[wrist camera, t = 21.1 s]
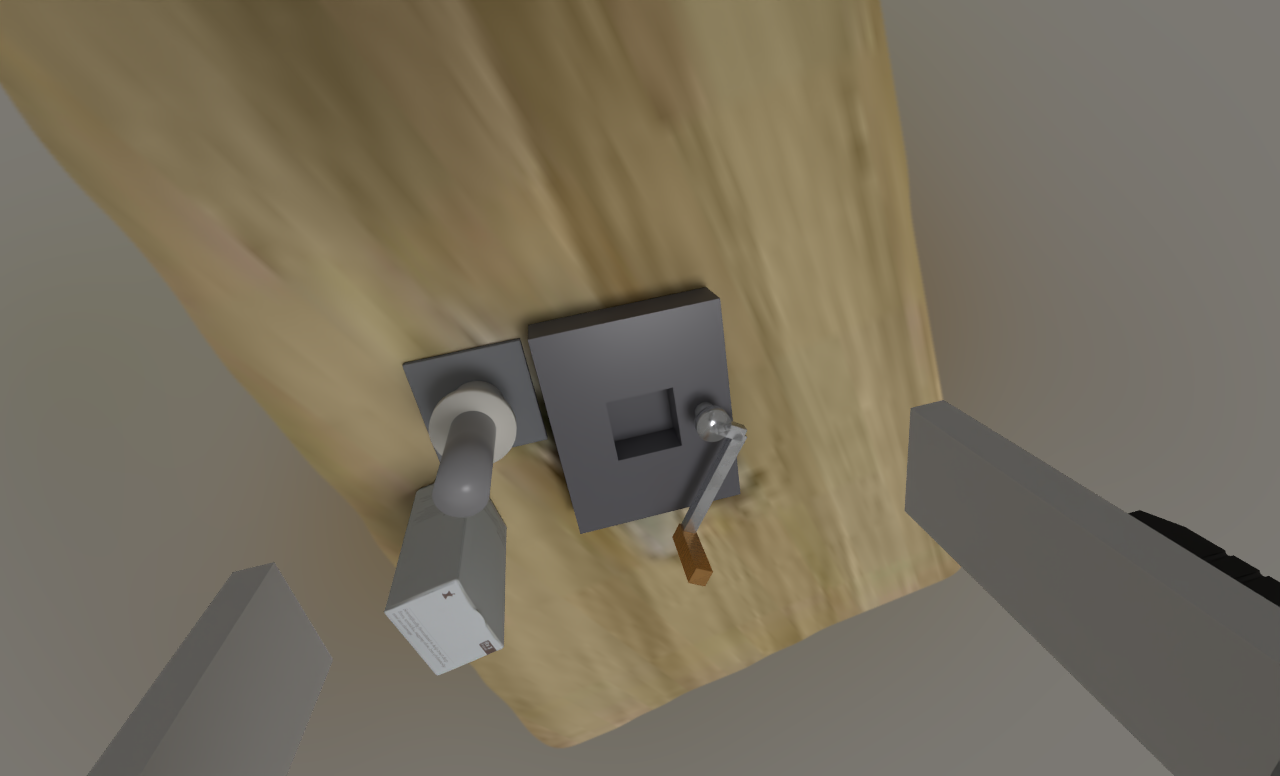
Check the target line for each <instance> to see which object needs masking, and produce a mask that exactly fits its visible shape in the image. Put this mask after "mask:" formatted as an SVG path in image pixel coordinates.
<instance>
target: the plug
mask: <svg viewBox="0 0 1280 776" xmlns="http://www.w3.org/2000/svg"><path fill="white" fill-rule="evenodd" d="M516 431H517V422H516V416H515V413H514V411H513V409H512V407H511V406H510V404H509V403H508V402H507V401H506V400H505V399H504V397H503V395H502V393H501V392H500V390H499V389H498V388H496V387H495V386H494V385H492V384H490V383H488V382H484V381H471V382H467V383H465V384H463V385H461V386H460V387H459V388H458V389H457V390H456V391H453V392H451V393H449V394H448V395H446V396H445V397H443V398H442V399H441V400H440V401H439V402H438V404H437V405H436V407H435V408H434V410H433V413H432V416H431V419H430V422H429V436H430V440H431V442H432V444H433V446H434V448H435V449H436V450H437V452H438V453H439V454H440V455H441V456H442V458H441V462H440V465H439V469H438V473H437V476H436V480H435V483H434V487H433V491H432V499H433V502H434V504H435V506H436V507H437V508H438V509H439V510H440V511H441V512H443V513H444V514H446V515H449V516H452V517H457V518H464V517H470V516H473V515H475V514H477V513H479V512H480V511H482V510H483V509H484V507H485V506H486V505H487V503H488V500H489V495H490V486H491V477H492V467H493V463H494V462H496V461H498V460H500V459H501V458H502V457H504V456H505V455H506V454H507V453H508V452H509V450H510V449H511V448H512V446H513V444H514V441H515V438H516Z"/></svg>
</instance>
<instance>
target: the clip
mask: <svg viewBox="0 0 1280 776" xmlns="http://www.w3.org/2000/svg"><path fill="white" fill-rule="evenodd" d="M694 426H695V429H696V431H697V433H698V434H699V436H700V437H701V438H702V439H703V440H705V441H708V442H716V441H719V440H721V439H723V438H724V437H727V438H726V440H725V441H724V443H723V445H722V447H721V449H720V451H719V453H718V455H717V457H716V459H715V461H714V462H713V464H712V466H711V468H710V470H709V472H708V474H707V476H706V478H705V480H704V482H703V483H702V485H701V487H700V489H699V491H698V493H697V495H696V497H695V499H694V501H693V503H692V504H691V506H690V508H689V510H688V512H687V514H686V516H685V518H684V520H683V522H682V524H679V525H678V527H677V529H676V531H675V533H674V535H673V540H674V543H675V546H676V549H677V551H678V554H679V557H680V560H681V563H682V566H683V568H684V571H685V574H686V577H687V580H688V583H692V584H696V585H701V586H705V585H706V584H707V582H708V580H709V578H710V576H711V575H712V573H713V571H712V569H711V566H710V564H709V561H708V559H707V557H706V554H705V552H704V549H703V547H702V545H701V542H700V540H699V537H698V535H697V533H696V531H697V529H698V528H699V526H700V524H701V522H702V520H703V518H704V516H705V515H706V513H707V511H708V509H709V507H710V505H711V503H712V502H713V500H714V498H715V496H716V494H717V492H718V490H719V489H720V487H721V485H722V483H723V481H724V479H725V477H726V476H727V474H728V472H729V470H730V468H731V466H732V464H733V462H734V461H735V459H736V457H737V455H738V453H739V451H740V449H741V448H742V446H743V444H744V442H745V440H746V438H747V436H746V435H745V434H746V432H747V429H746V428H745V426H744V425H742V424H739V423H736V422H733V421H731V419H730V417H729V416H728V414H727V413H726V412H725V410H724V409H723V408H721V407H719V406H707V407H705V408H703V409H702V410H700V411H699V412H698V414H697V415H696V417H695V420H694Z"/></svg>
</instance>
